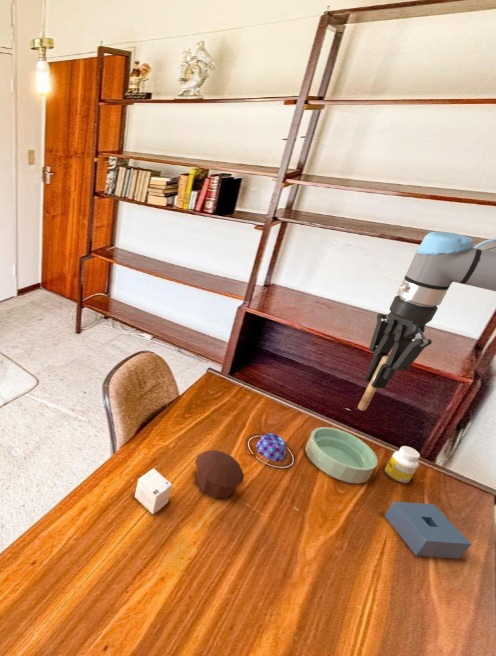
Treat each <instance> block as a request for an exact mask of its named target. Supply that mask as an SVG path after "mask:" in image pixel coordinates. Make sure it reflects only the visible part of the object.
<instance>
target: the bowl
mask: <svg viewBox="0 0 496 656" xmlns="http://www.w3.org/2000/svg"><path fill="white" fill-rule="evenodd" d="M304 450H305V452H306V456H307V457H308V459H309V461H311V463H312V464H313V465H315V466H316V467H317V469H319V470H320V471H322V472H323V473H324V474H327V475H328V476H330V477H332V478H335V479H337V480H339V481H342V482H345V483H349V484H363V483H367V482H368V480H369V479H370V478H371V477H372V476H373V474H374V471H375V470H376V468H377V466H378V462H379V460H378V459H379V458H378V457H377V454H376V452H375V451H374V450H373V449H372V448H371V447H370V446H369V445H368V444H367V443H365V442H364V441H363V440H362V439H360V438H358V437H357V436H355V435H353V434H351V433H350V432H347V431H344V430H342V429H339V428H336V427H335V428H334V427H331V426H330V427H329V426H328V427H327V426H320V427H316V428H315V429H313V430H312V431H311V433H310V435H309V437H308V439H307V442H306V444H305V448H304Z"/></svg>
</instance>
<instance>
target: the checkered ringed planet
mask: <svg viewBox="0 0 496 656" xmlns="http://www.w3.org/2000/svg"><path fill="white" fill-rule="evenodd" d="M256 437H258V435H255V436H252V437H251V438H250V439H249V440H248V442H247V445H248V449H249V450H250V453H253V452H252V450H251V448H250V441H251V440H252V439H254V438H256ZM255 448H256V449H257V453H258V454H259V455H261V456H263V457H264V458H265V459H267V460H269V461H273V462H275V463H280V462H281V461H285V460H286V455H287V454H286V453H287V451H286V449H287V450H288V452H289V453H290V454H291V456H292V462H291V464H290V465H288V466H287V465H286V466H279V468H281V469H283V468H289V467H291V466H292V465H293V464H294V461H295V460H294V459H295V458H294V455H293V453H292V451H291V450H290V449H289V447H287V443H286V441H285V440H284V439H283V437H281V436H280V435H277V434H275V433H272V432H271V433H269V432H267V433H265V434H264V435H262V436H261V438H260V439H259V440H258V441H257V442H256V444H255ZM257 459H258V460H259V461H261V462H262V463H264V464H265V465H269V466H271V467H274V468H277V466H276V465H272V464H269V463H267V462H265V461H263V460H261V459H260V458H258V457H257Z"/></svg>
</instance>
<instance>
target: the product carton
mask: <svg viewBox="0 0 496 656" xmlns="http://www.w3.org/2000/svg"><path fill="white" fill-rule="evenodd" d="M172 488H173V484H172V483H171V482H170V481H169V480H168V479H167V478H166V477H164V476H163V475H162V474H161V473H160V472H158V470H156V469H155V468H152V469H151V470H149V471H148V472H146V473H145V474H143V475H142V476H140V477H139V478H138V479H137V484H136V488H135V494H134V498H135V499H136V500H137V501H138V502H139V503H140V504H141V505H142V506H143V507H144V508H146V509H147V510H148V512H149V513H151V514H152V515H154V514H156V513H157V512H158V511H160V510H162V509H163V508H164V507H165V505H167V504H168V503H169V499H170V496H171V491H172Z"/></svg>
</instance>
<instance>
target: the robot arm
mask: <svg viewBox="0 0 496 656" xmlns="http://www.w3.org/2000/svg"><path fill="white" fill-rule="evenodd" d="M473 246H474V239H473V238H472V237H469V236H467V235H463V234H458V233H454V232H450V231H449V232H448V231H430V232H429V233H427V234H426V235H425V236H424V238H423V239H422V241H421V243H420V245H419V246H418V249H416V252H415V253H414V256H413V259H412V261H411V262H410V264H409V267H408V268H407V271H406V273H405V276H404V278H403V280H402V281H401V284H400V285H399V286H400V287H398V290H397V295H395V296H394V298H393V299H392V302H391V303H390V306H389V311H390V312H388V313H377V315H376V324H375V329H374V331H373V334H372V336H371V340H370V343H369V347H368V351H369V352H372V357H373V358H372V359H371V361H370V363H369V369H368V372H367V373H366V376H365V378H364V381H366V382H369V383H370V381H371V379H372V377H373V375H374V373H375V371H376V369H377V367H378V365H379V363H380V361H381V359H382V357H383V356H389V358H388V360H387V363H386V364H382V366H381V368H380V369H379V371H378V373H377V375H376V377H375V379H374V381H373V383H372V385H371V386H372V387H373V388H377V389H385V388H386V386H387V384H388V383H389V380H392V379H393V378H394V375H395V374H396V372H397V371H404V372H405V371H408V370H409V369H410V368H411V366H412V364H414V362H415V361H416V359H418V357H419V356H420V355H421V353H422V352H423V350H424V349H425V348H427V347H428V346H430V345H432V343H433V341H432V340H431V339H430V338H426V335H425V334H424V333H425V331H426V329H425V327H426V325H427V324H428V323H430V322H431V321H432V320H433V318H434V316H435V315H436V313H437V311H438V309H439V307H438V306H440V305H441V304H442V302H443V300H444V298H445V297H446V294H447V293H448V290H449V289H450V287H451V285H452V284H453V283H458V284H462V285H466V286H471V287H475V288H479V289H484V290H488V291H493V292H496V238H490V239H485V240H483V241H480V242H479V243H477V244H476V245H475V246H474V247H473Z"/></svg>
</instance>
